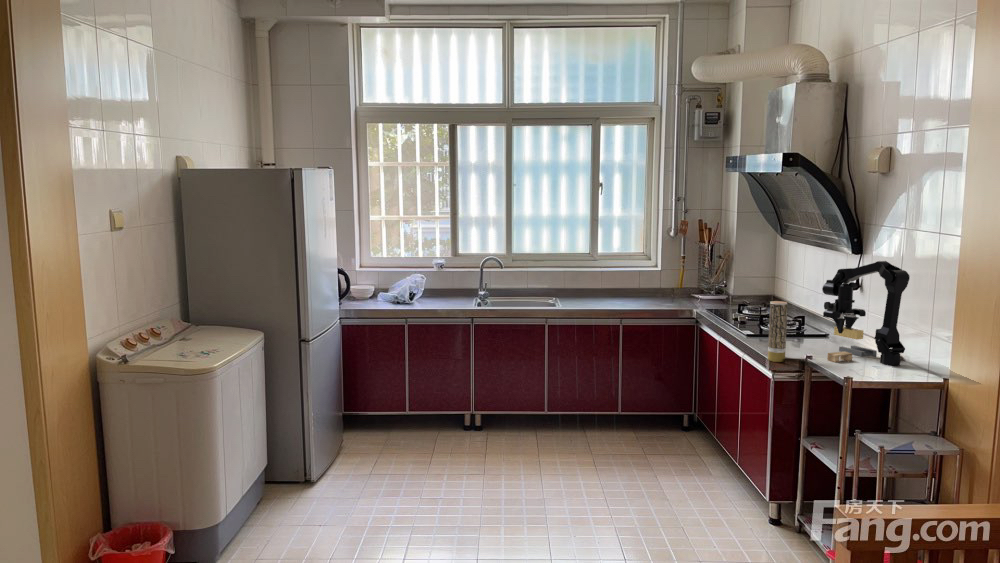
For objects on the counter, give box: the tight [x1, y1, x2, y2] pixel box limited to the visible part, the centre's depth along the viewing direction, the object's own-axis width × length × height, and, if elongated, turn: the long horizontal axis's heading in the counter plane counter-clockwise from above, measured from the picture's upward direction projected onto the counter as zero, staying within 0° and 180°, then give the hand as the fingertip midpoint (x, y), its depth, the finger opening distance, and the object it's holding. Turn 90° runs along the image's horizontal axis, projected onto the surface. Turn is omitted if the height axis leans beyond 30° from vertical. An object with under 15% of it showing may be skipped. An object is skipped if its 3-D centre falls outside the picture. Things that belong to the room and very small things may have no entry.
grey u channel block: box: [838, 345, 878, 358], centre depth 302 cm, size 12×8×4 cm
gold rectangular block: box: [833, 326, 864, 340], centre depth 300 cm, size 12×4×4 cm, turn 21°
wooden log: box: [767, 300, 788, 363], centre depth 293 cm, size 7×7×25 cm
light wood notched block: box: [826, 351, 853, 364], centre depth 287 cm, size 4×9×5 cm, turn 109°
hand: (843, 333), depth 302 cm, fingers closed on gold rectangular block, 4 cm apart
